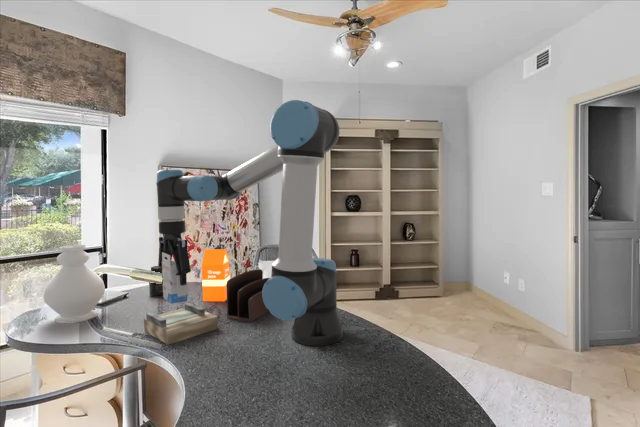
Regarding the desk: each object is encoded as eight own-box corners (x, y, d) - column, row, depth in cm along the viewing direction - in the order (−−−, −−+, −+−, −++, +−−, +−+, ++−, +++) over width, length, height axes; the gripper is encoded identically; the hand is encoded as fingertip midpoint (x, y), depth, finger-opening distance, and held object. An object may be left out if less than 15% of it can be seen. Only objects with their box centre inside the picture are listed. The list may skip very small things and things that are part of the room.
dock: (217, 328, 117) (217, 309, 117) (168, 344, 105) (167, 324, 105) (192, 317, 128) (191, 300, 127) (144, 331, 116) (143, 312, 116)
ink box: (188, 300, 114) (186, 253, 113) (171, 304, 111) (169, 255, 110) (178, 294, 121) (177, 250, 120) (162, 298, 118) (160, 251, 117)
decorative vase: (43, 316, 131) (38, 246, 130) (100, 305, 143) (96, 241, 141) (48, 330, 118) (43, 252, 116) (111, 317, 129) (107, 246, 128)
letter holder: (226, 318, 127) (225, 277, 126) (261, 302, 144) (260, 266, 143) (249, 322, 122) (248, 280, 121) (283, 305, 140) (282, 268, 139)
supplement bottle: (147, 294, 157) (145, 266, 156) (163, 291, 161) (162, 264, 160) (152, 298, 152) (151, 269, 151) (169, 294, 156) (168, 266, 155)
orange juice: (209, 295, 154) (208, 247, 153) (230, 295, 154) (229, 247, 152) (202, 301, 146) (200, 251, 145) (224, 301, 146) (223, 250, 144)
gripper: (201, 221, 110) (204, 296, 111) (167, 217, 124) (170, 284, 126) (177, 223, 104) (180, 302, 106) (144, 219, 119) (147, 288, 120)
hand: (174, 292), depth 116 cm, fingers closed on ink box, 9 cm apart
